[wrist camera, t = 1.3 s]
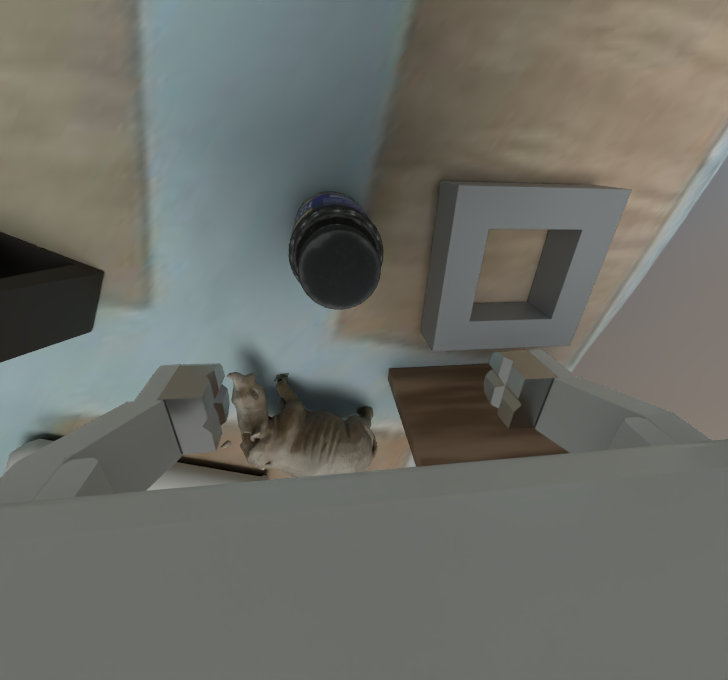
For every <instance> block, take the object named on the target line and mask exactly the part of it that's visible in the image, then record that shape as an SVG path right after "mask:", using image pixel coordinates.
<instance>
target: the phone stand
mask: <svg viewBox="0 0 728 680" xmlns="http://www.w3.org/2000/svg"><path fill="white" fill-rule="evenodd" d="M102 276H103V271H101V270H99V269H96V268H94V267H91V266H89V265H86V264H83V263H81V262H78V261H75V260H73V259H70V258H68V257H65V256H62V255H60V254H57V253H54V252H52V251H49V250H47V249H44V248H38V247H37V246H36V245H33V244H31V243H28V242H26V241H23V240H20V239H18V238H15V237H13V236H10V235H7V234H5V233H2V232H0V362H3V361H6V360H9V359H12V358H15V357H18V356H21V355H24V354H27V353H30V352H33V351H36V350H39V349H41V348H44V347H47V346H50V345H53V344H56V343H59V342H62V341H65V340H68V339H71V338H74V337H77V336H80V335H83V334H86V333H89V332H91V330H92V325H93V320H94V316H95V311H96V306H97V301H98V296H99V291H100V286H101V281H102Z"/></svg>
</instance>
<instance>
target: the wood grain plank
mask: <svg viewBox="0 0 728 680" xmlns="http://www.w3.org/2000/svg"><path fill="white" fill-rule="evenodd" d="M490 370H491V367H490V365H489V364H472V365H452V366H432V367H412V368H392V369H389V375H388V381H389V384H390V387H391V390H392V393H393V396H394V399H395V403H396V406H397V409H398V412H399V415H400V418H401V421H402V424H403V427H404V430H405V433H406V436H407V439H408V443H409V446H410V449H411V452H412V455H413V458H414V461H415V464H416V467H420V466H431V465H442V464H453V463H464V462H476V461H487V460H498V459H510V458H521V457H533V456H544V455H555V454H567V453H569V452H568V451H566V450H565V449H563V448H562V447H561V446H559V445H558V444H556V443H555V442H553V441H552V440H550V439H549V438H547V437H546V436H544V435H543V434H541V433H540V432H538V431H537V430H536V429H535V428H522V429H508V428H507V427H506V425H505V424H504V422H503V421H502V420H501V418H500V417H499V415H498V414H497V413H498V408H497V407H495V406H493V405H491V404H490V403H489V401H488V400H487V398H486V395H485V392H484V380H485V376H486V374H487V373H488V372H489V371H490Z"/></svg>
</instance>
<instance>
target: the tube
mask: <svg viewBox="0 0 728 680" xmlns="http://www.w3.org/2000/svg"><path fill="white" fill-rule="evenodd" d="M52 442H54V441H50V440H45V439H37V440H34V441H30V442H27V443H25V444H24V445H22V446H21V447H19V448H18V449H16V450H15V451H13V452H12V453H10V455H9V459H8V462H7V466H6V469H5V472H4V474H5V473H6V472H7V471H8V470H9V469H10V468H11V467H12V466H13V465H14V464H15V463H16V462H17V461H19V460H21V459H22V458H24V457H26V456H28V455H30V454H32V453H34V452H35V451H37V450H39V449H41V448H43V447H45V446H47V445H48V444H50V443H52ZM4 474H3V475H4ZM262 480H268V476H266V475H262V476H254V475H248V474H242V473H237V472H231V471H225V470H219V469H213V468H208V467H202V466H196V465H190V464H184V463H178V462H176V463H175V464H174V465H173V466H172V467H171V468H169V469H168V470H167V471H166V472H165V473H164V474H163V475H162V476H161V477H160V478H159V479H158V480H157V481H156V482H155V483H154V484H153V485H152V486H151V487H150V488H148V489H147V490H146V491H149V490H160V489H172V488H183V487H194V486H206V485H217V484H228V483H240V482H251V481H262Z"/></svg>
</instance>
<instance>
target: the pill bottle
mask: <svg viewBox="0 0 728 680" xmlns="http://www.w3.org/2000/svg"><path fill="white" fill-rule="evenodd" d="M289 262H290V265H291V269H292V271H293V274H294V275H295V277H296V278H297V280H298V281H299V282H300V284H301V285H302V288H303V289H304V291H305V292H306V294H307V295H308V296H309V297H310V298H311V299H312V300H313V301H315V302H316V303H318V304H319V305H321V306H324V307H326V308H330V309H348V308H352V307H355V306H357V305H359V304H361V303H362V302H364V301H365V300H366V299H368V298H369V297H370V295H372V293H373V292H374V290H375V289H376V287H377V285H378V282H379V279H380V273H381V265H382V262H383V245H382V241H381V238H380V235H379V233H378V231H377V228H376V227H375V225H374V224H373V223H372V222H371V221H370V219H369V218H368V217H367V215H366V214H365V213H364V212H363V210H362V209H361V208H360V207H359V205H358V204H357V203H356V202H355V201H354V200H353V199H352V198H350V197H348V196H346V195H343V194H341V193H338V192H322V193H319V194H317V195H315V196H314V197H312V198H310V199H308V200H307V201H305V202H304V203H303V204H302V206H301V208H300V209H299V211H298V213H297V216H296V219H295V223H294V227H293V232H292V235H291V239H290V244H289Z"/></svg>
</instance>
